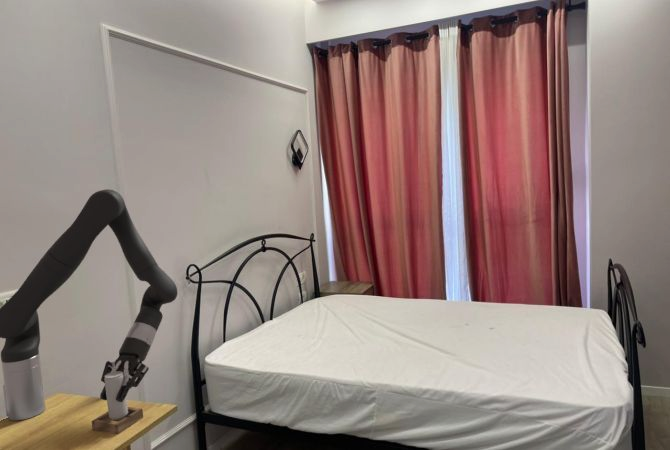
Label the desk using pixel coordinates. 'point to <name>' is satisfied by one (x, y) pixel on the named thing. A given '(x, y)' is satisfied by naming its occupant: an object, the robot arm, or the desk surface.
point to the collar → (117, 427)
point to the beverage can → (115, 395)
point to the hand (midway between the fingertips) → (111, 399)
